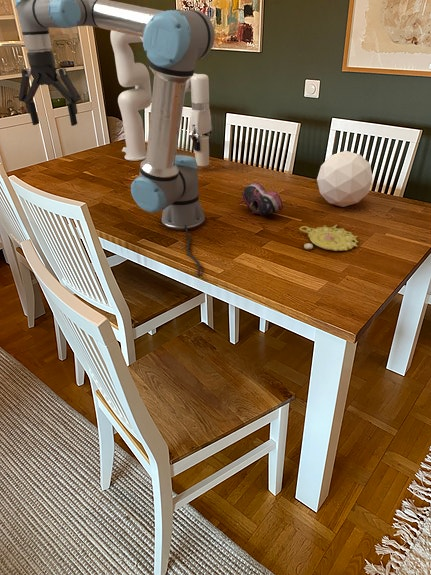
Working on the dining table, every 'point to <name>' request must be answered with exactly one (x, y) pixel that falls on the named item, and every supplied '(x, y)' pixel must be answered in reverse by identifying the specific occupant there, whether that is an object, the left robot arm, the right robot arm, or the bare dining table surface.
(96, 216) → the dining table surface
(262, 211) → the athletic shoe
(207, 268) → the dining table surface
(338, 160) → the sphere
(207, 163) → the canister
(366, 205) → the dining table surface
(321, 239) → the decorative object
